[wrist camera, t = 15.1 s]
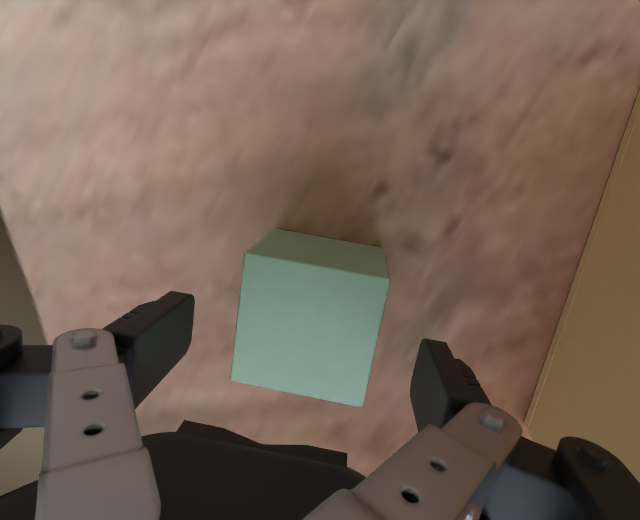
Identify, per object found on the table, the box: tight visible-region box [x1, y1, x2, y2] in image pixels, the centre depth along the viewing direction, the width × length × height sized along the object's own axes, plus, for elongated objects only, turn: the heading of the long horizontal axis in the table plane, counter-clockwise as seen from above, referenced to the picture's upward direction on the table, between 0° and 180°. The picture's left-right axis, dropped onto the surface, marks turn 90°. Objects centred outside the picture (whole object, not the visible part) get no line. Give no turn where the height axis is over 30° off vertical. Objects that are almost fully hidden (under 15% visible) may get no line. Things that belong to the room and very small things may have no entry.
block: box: [230, 229, 391, 407], centre depth 16 cm, size 5×5×5 cm
